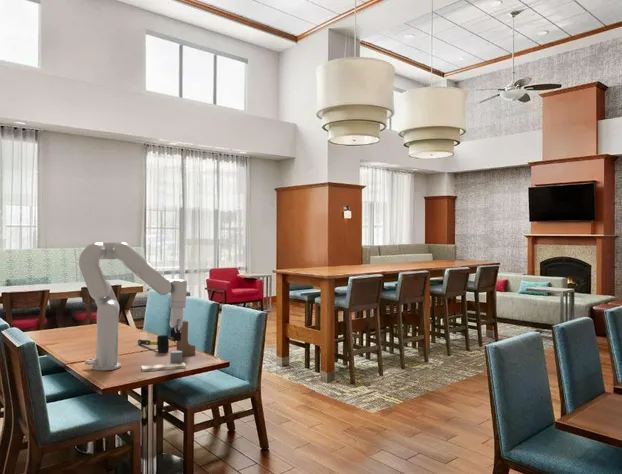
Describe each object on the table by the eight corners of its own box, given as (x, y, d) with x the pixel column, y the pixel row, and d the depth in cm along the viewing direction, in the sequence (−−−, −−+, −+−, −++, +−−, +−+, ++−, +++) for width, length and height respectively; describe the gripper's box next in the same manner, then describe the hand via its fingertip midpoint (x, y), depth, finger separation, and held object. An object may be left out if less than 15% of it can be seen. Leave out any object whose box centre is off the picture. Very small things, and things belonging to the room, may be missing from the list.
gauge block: (171, 365, 239) (171, 353, 239) (170, 363, 242) (170, 351, 243) (181, 364, 241) (182, 352, 241) (180, 362, 245) (180, 350, 245)
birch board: (142, 371, 226) (142, 368, 226) (141, 368, 231) (141, 365, 231) (186, 367, 234) (186, 365, 234) (183, 364, 240) (183, 362, 240)
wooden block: (192, 352, 266) (193, 319, 266) (195, 354, 262) (196, 320, 263) (176, 354, 261) (177, 320, 261) (179, 356, 257) (180, 322, 257)
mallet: (134, 345, 281) (134, 328, 281) (143, 343, 285) (144, 327, 285) (160, 354, 261) (161, 336, 261) (170, 352, 265) (171, 335, 265)
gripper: (167, 302, 248) (165, 335, 248) (172, 306, 233) (170, 342, 232) (182, 302, 251) (180, 335, 251) (188, 306, 236) (186, 342, 235)
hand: (175, 338), depth 242 cm, fingers open, 9 cm apart
